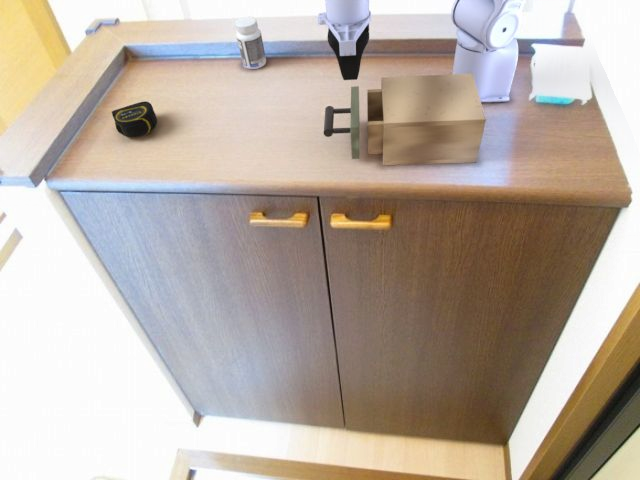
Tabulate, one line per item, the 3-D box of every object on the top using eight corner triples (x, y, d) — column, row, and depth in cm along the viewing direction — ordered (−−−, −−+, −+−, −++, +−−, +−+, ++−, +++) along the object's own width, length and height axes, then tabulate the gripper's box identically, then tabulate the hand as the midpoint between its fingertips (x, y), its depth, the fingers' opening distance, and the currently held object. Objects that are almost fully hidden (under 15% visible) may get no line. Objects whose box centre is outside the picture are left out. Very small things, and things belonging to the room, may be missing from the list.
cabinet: (383, 165, 69) (384, 123, 63) (380, 119, 76) (381, 77, 71) (476, 162, 68) (486, 119, 62) (464, 115, 75) (472, 73, 69)
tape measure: (155, 114, 83) (148, 95, 80) (163, 134, 79) (155, 115, 76) (117, 125, 82) (108, 107, 79) (123, 147, 78) (113, 128, 75)
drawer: (324, 160, 70) (321, 128, 65) (327, 119, 76) (324, 87, 72) (436, 156, 68) (441, 123, 64) (429, 114, 75) (433, 82, 70)
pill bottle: (270, 58, 93) (262, 16, 86) (260, 71, 90) (252, 28, 83) (249, 56, 94) (240, 14, 87) (239, 68, 91) (229, 26, 85)
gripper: (317, -41, 63) (325, 54, 73) (311, 6, 54) (321, 107, 64) (369, -45, 62) (370, 51, 73) (372, 2, 53) (372, 104, 63)
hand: (350, 77), depth 68 cm, fingers closed
